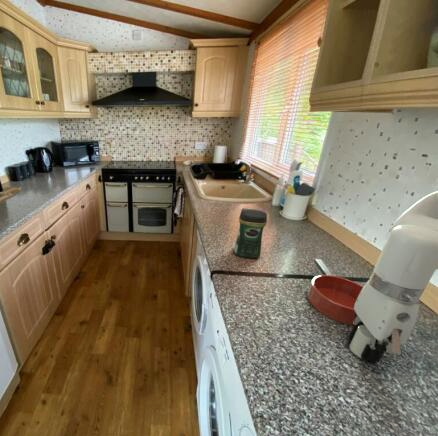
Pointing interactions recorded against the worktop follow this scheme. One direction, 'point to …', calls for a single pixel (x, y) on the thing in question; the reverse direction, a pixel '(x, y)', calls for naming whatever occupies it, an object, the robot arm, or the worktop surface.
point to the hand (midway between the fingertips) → (362, 348)
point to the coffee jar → (250, 233)
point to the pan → (334, 297)
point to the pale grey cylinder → (361, 340)
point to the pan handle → (322, 267)
